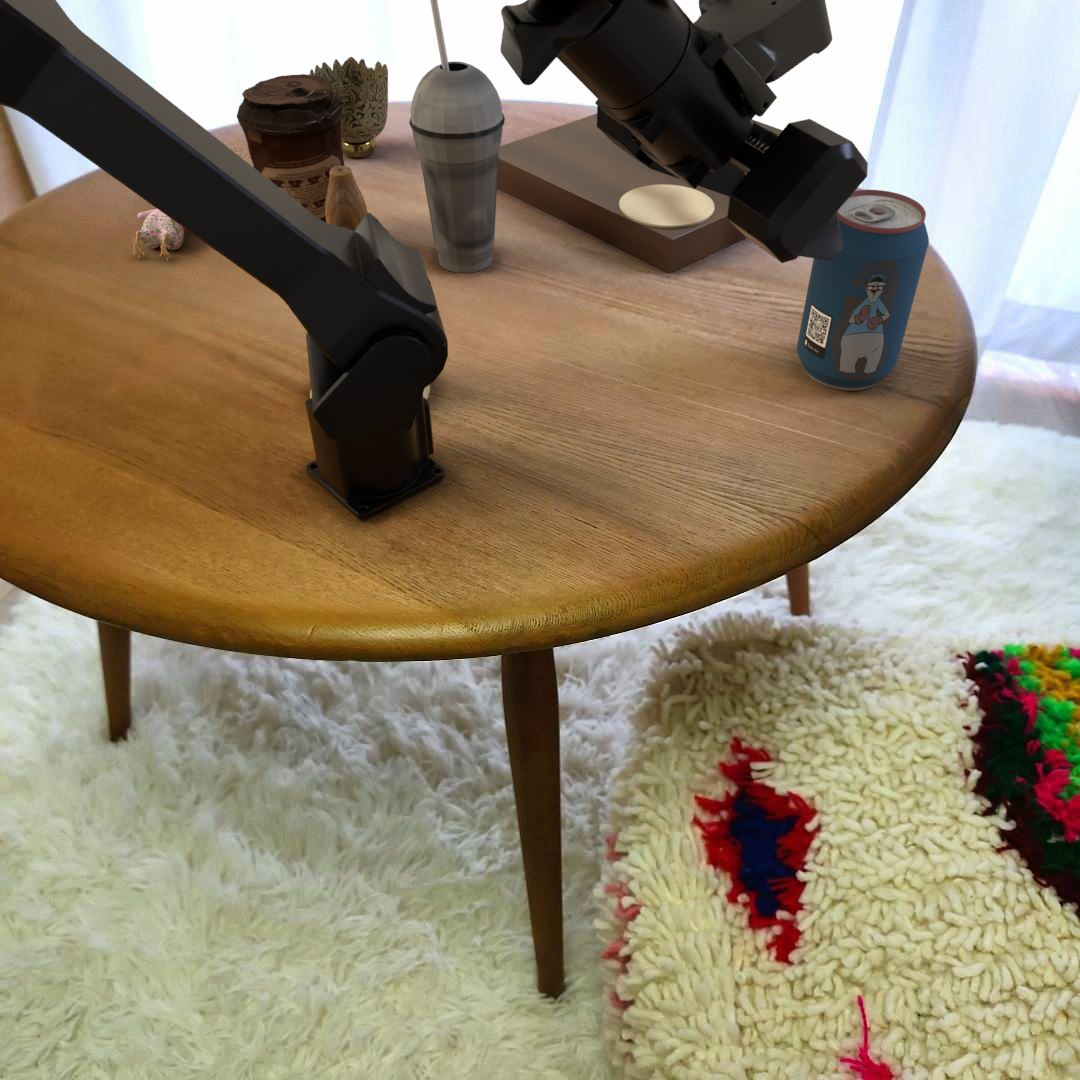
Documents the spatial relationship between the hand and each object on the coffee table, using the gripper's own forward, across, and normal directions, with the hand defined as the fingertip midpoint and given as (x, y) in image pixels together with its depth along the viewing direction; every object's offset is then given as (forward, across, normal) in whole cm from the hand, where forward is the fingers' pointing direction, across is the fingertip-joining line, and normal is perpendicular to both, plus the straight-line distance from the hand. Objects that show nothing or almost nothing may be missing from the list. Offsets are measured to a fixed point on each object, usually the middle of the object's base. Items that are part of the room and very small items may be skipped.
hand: (788, 221), depth 62 cm
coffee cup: (-6, +36, +24) cm, 44 cm away
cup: (+1, +53, +17) cm, 56 cm away
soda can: (+14, 0, +4) cm, 15 cm away
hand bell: (-8, +12, +26) cm, 30 cm away
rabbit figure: (-12, +45, +30) cm, 55 cm away
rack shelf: (+15, +32, +3) cm, 35 cm away
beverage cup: (+2, +27, +16) cm, 32 cm away
